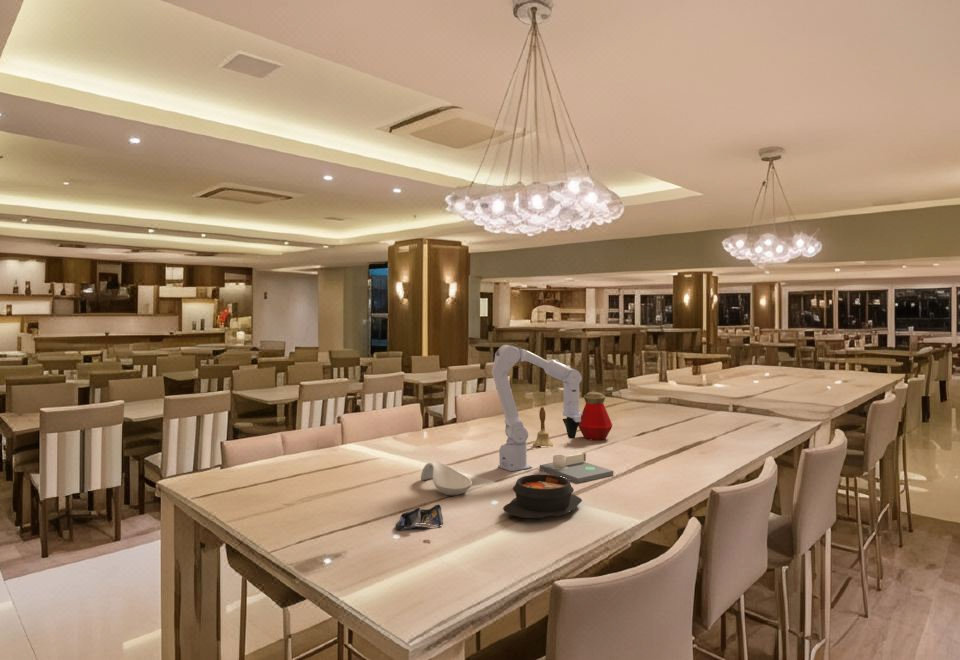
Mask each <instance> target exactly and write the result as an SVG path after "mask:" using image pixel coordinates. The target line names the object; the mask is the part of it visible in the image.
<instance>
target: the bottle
mask: <svg viewBox="0 0 960 660" xmlns="http://www.w3.org/2000/svg"><path fill="white" fill-rule="evenodd" d="M583 399H584V402H585V404H584V408H583V410H582V412H581V413H582V415H580V416H581V422H580V424H579V425H578V428H579V430H580V432H581V434H582V436H583V438H584V439H585V438H587V439H586V440H589V439H592V440H591V441H604V439H605V440H606V439H607V437H608V435H609V433H610V432H611V431H612V428H613V423H612V420H611V418H610V416H609V415H610V414H609V413H608V411H607V409H606V406H605V404H604V402H605V399H606V396H605V395H604V393H602V392H597V391H595V392H594V391H593V392H592V391H591V392H587V393H586V394H584V395H583Z"/></svg>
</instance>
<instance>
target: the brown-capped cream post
mask: <svg viewBox="0 0 960 660" xmlns="http://www.w3.org/2000/svg"><path fill="white" fill-rule="evenodd" d="M586 454H587V453H586V452H581V453H575V454H574V453H573V454H570V455H562V454H556V455H553V456H552V463H553V466H554V467H565V466H566V465H569V464H574V463H579V462H586V458H587V455H586Z"/></svg>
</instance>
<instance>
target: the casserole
mask: <svg viewBox="0 0 960 660" xmlns="http://www.w3.org/2000/svg"><path fill="white" fill-rule="evenodd" d="M512 490H513V492H514V493H515V497H514V498H513V499H512V500H511V501H510V502H509V503H507V504H505V505H504V506H503V507H502V510H503V511H504V512H505V513H506V514H507V513H508V514H509V515H511V516H515V517H516V518H522V519H528V520H529V519H531V520H532V519H539V518H540V519H541V518H553V517H558V516H561V515H566V514H569V513H571V512H573V511H574V510H576V508H577V507H578V505H579V504H580V503H582V502H583V499H582V498H581V497H580V496H578V495H575V494H573V493H574V490H575V489H574V487H573V486H572V485H571V482H570V480H569V479H566V478H563V477H560V476H557V475H554V474H543V473H541V474H529V475H524V476H521V477H519V478H517V480H516V481H515V485H514V486H513V487H512Z"/></svg>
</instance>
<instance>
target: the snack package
mask: <svg viewBox="0 0 960 660" xmlns="http://www.w3.org/2000/svg"><path fill="white" fill-rule="evenodd" d="M425 508H427V507H425ZM416 523H426V524H430V525H436V526H439V528H441V527H442V526H443V525H444V517H443V512H442V506H441V505H440V504H435V505H434V506H433V507H431V508H428V509H421V508H420V507H416V508H414V509H412V510H410V511H407V512H404V513H402V514H401V515H400V517H399V520H398V522H397V523H396V524H395V530H396V531H397V530H400V531H402V530H404V529H405V530H409V529H414V528H425V527H427V526H425V525H424V524H421V525H415V524H416ZM430 525H429V526H430ZM440 525H442V526H440ZM436 526H435V527H436ZM427 528H428V529H429V527H427Z"/></svg>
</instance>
